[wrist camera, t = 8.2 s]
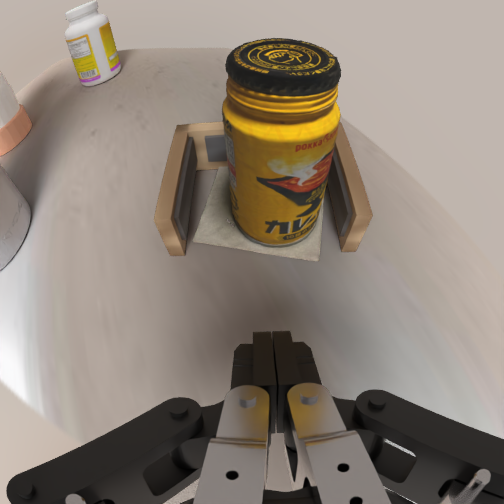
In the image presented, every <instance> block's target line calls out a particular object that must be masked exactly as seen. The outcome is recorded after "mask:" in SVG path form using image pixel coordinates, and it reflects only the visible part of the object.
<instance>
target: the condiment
mask: <svg viewBox="0 0 504 504" xmlns="http://www.w3.org/2000/svg"><path fill="white" fill-rule="evenodd" d="M225 66H226V72H227V73H228V79H227V83H226V86H227V89H226V92H227V97H226V99H225V100H224V102H223V107H222V115H223V125H224V138H225V144H226V155H227V163H228V167H227V166H225V167H219V168H218V171H217V174H216V177H215V180H214V183H213V186H212V189H211V192H210V195H209V197H208V200H207V203H206V206H205V209H204V211H203V213H202V216H201V219H200V222H199V225H198V228H197V230H196V233H195V236H194V239H193V242H197V243H205V244H210V245H216V246H217V245H218V246H224V247H229V248H237V249H241V250H247V251H252V252H258V253H263V254H270V255H277V256H283V257H288V258H297V259H301V260H309V261H319V256H320V246H321V245H320V244H321V232H322V218H323V205H324V191H325V188H326V184H327V180H328V175H329V171H330V165H331V160H332V156H333V152H334V146H335V141H336V137H337V135H338V127H339V121H340V115H341V114H340V110H339V107H338V105H337V103H336V99H337V97H338V82H339V79H340V77H341V69H340V65H339V62H338V60H337V57H334V56H333V55H332V54H331V53H330V52H329V51H328V50H326V49H324V48H322V47H319V46H316V45H314V44H312V43H308V42H303V41H297V40H293V39H282V38H271V39H261V40H256V41H253V42H249V43H244V44H243V45H241V46H239V47H237V48H235V49H234V50H233V51H232V52H231V53H230V54H229V55H228V57H227V60H226V65H225ZM227 219H229V220H230V221H231V223H233V224H234V227H233V226H232V225H231V223H228V222H227Z"/></svg>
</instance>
